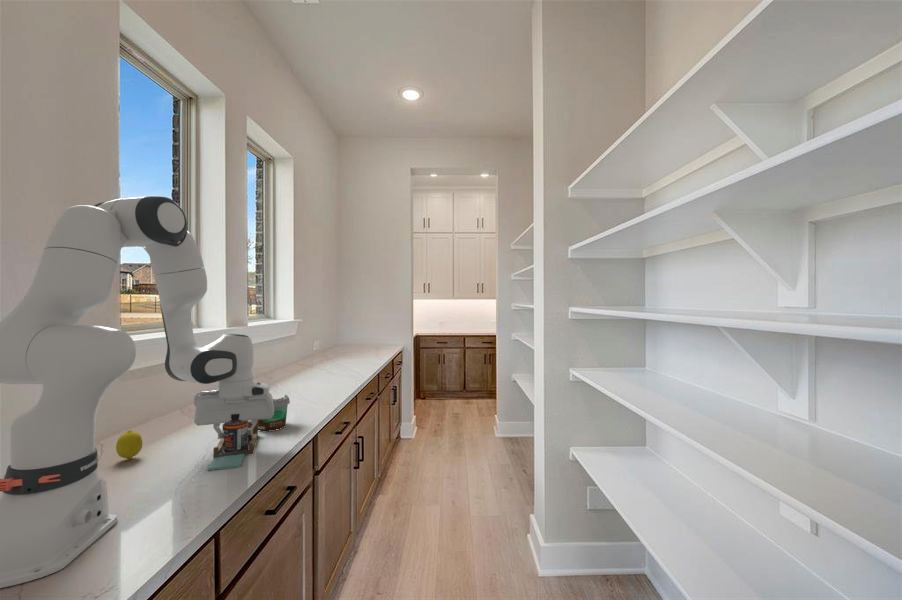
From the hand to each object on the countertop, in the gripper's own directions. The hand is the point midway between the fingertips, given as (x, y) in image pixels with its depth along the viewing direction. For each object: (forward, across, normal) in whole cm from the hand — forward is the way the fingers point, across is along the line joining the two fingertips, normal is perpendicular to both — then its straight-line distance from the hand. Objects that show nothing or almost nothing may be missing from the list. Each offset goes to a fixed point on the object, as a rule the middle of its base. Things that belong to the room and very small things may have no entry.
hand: (235, 436), depth 113 cm
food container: (+4, +10, +17) cm, 21 cm away
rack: (+4, 0, +3) cm, 5 cm away
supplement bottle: (+4, 0, 0) cm, 4 cm away
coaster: (+4, -1, -9) cm, 10 cm away
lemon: (+4, -26, +3) cm, 27 cm away
